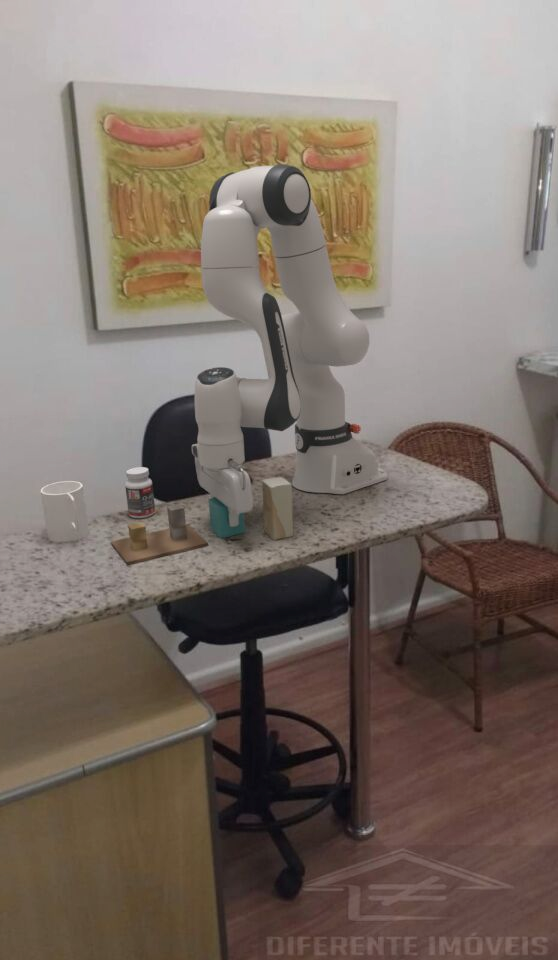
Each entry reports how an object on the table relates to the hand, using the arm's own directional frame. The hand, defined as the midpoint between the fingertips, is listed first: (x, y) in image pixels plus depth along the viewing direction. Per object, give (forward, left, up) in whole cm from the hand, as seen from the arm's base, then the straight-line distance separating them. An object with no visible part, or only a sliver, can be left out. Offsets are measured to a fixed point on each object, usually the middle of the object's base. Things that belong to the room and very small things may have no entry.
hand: (226, 519), depth 149 cm
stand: (+14, -1, -2) cm, 14 cm away
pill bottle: (+12, -19, -3) cm, 23 cm away
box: (-8, +7, -3) cm, 11 cm away
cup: (+28, -15, -3) cm, 32 cm away
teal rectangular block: (0, 0, -2) cm, 2 cm away
